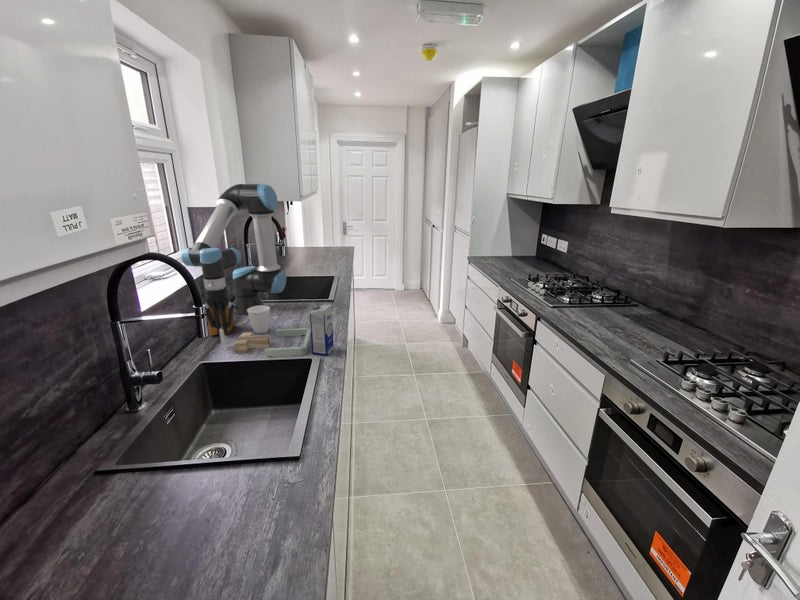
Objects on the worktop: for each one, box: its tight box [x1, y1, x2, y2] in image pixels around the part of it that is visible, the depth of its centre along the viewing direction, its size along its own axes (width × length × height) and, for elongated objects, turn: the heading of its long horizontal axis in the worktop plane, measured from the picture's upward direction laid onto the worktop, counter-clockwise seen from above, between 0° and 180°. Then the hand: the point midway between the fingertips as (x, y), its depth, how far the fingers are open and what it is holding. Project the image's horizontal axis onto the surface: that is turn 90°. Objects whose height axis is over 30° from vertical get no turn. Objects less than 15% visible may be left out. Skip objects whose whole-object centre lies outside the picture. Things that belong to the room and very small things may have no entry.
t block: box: [233, 331, 271, 354], centre depth 150 cm, size 12×12×4 cm
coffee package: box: [206, 305, 235, 337], centre depth 161 cm, size 10×12×22 cm
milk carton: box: [308, 304, 335, 357], centre depth 143 cm, size 7×7×20 cm
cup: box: [247, 305, 271, 335], centre depth 164 cm, size 10×10×11 cm
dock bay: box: [265, 327, 311, 357], centre depth 152 cm, size 21×16×3 cm
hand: (224, 342), depth 148 cm, fingers closed
